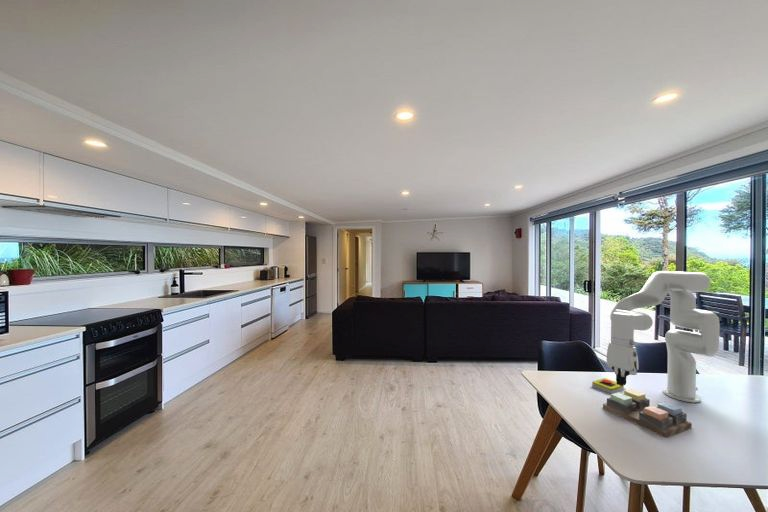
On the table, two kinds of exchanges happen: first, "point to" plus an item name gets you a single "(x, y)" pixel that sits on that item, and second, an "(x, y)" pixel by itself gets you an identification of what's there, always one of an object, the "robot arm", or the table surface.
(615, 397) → the sage button
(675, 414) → the slate button
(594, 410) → the table surface
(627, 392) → the mustard button
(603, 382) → the emergency button
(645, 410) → the terracotta button
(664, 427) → the console
